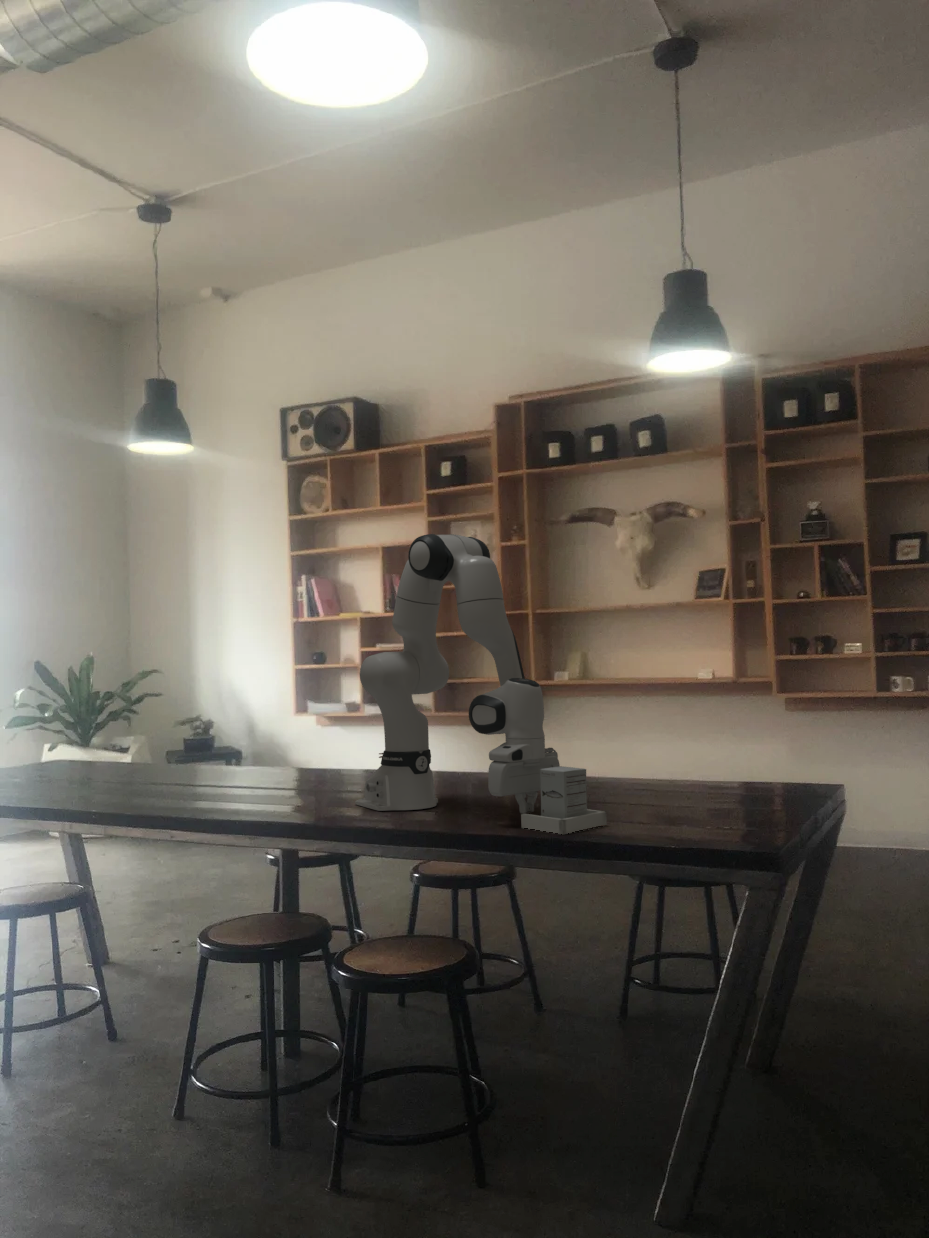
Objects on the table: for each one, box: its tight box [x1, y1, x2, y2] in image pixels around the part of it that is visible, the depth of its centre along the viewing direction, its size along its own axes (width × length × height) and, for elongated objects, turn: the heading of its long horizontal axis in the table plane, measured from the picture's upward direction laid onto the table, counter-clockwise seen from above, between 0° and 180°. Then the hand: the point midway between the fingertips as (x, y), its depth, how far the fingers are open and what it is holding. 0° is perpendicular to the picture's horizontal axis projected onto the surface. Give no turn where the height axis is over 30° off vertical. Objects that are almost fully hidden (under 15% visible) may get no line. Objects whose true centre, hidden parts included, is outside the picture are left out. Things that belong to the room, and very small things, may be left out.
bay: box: [520, 808, 608, 836], centre depth 204 cm, size 12×14×3 cm
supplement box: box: [540, 765, 588, 819], centre depth 204 cm, size 7×7×13 cm
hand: (526, 812), depth 212 cm, fingers closed
